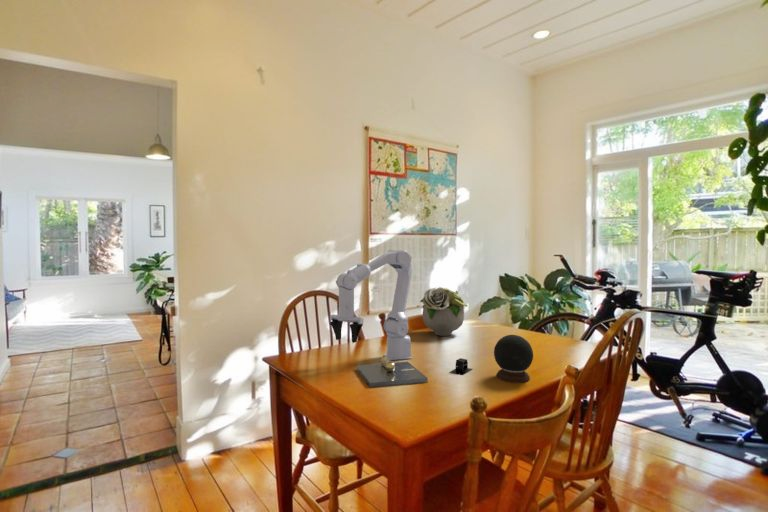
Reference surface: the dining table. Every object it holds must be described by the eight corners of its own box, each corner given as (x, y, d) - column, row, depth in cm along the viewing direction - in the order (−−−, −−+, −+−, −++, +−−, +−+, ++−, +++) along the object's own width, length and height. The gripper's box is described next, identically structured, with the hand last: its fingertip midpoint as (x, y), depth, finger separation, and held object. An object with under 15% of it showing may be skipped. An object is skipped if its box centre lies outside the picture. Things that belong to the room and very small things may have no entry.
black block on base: (462, 378, 146) (463, 365, 146) (444, 374, 151) (444, 361, 151) (477, 370, 157) (477, 357, 156) (459, 366, 161) (459, 354, 161)
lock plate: (407, 365, 160) (407, 361, 160) (427, 382, 140) (427, 377, 140) (356, 369, 154) (356, 365, 154) (370, 387, 135) (370, 382, 135)
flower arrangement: (417, 338, 204) (417, 289, 204) (421, 328, 229) (421, 284, 228) (468, 341, 200) (469, 290, 200) (466, 330, 225) (467, 285, 224)
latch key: (395, 371, 146) (395, 364, 146) (387, 371, 145) (387, 364, 145) (387, 362, 156) (387, 356, 156) (379, 363, 155) (379, 356, 155)
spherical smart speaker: (539, 383, 140) (540, 339, 140) (501, 384, 139) (502, 339, 139) (523, 371, 153) (524, 331, 153) (488, 372, 152) (489, 331, 152)
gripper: (324, 304, 158) (324, 340, 158) (355, 308, 150) (355, 345, 150) (336, 302, 164) (336, 336, 164) (366, 305, 156) (366, 341, 156)
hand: (346, 340), depth 158 cm, fingers open, 7 cm apart
